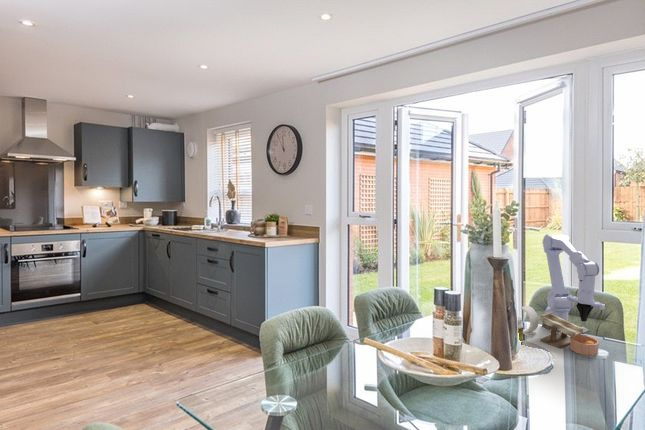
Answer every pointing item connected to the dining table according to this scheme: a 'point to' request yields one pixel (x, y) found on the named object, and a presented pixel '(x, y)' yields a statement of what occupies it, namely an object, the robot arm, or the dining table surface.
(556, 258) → the robot arm
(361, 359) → the dining table surface
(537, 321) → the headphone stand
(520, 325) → the pill bottle
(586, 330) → the beige curved piece
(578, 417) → the dining table surface
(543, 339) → the lever stand
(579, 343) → the cup
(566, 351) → the dining table surface
